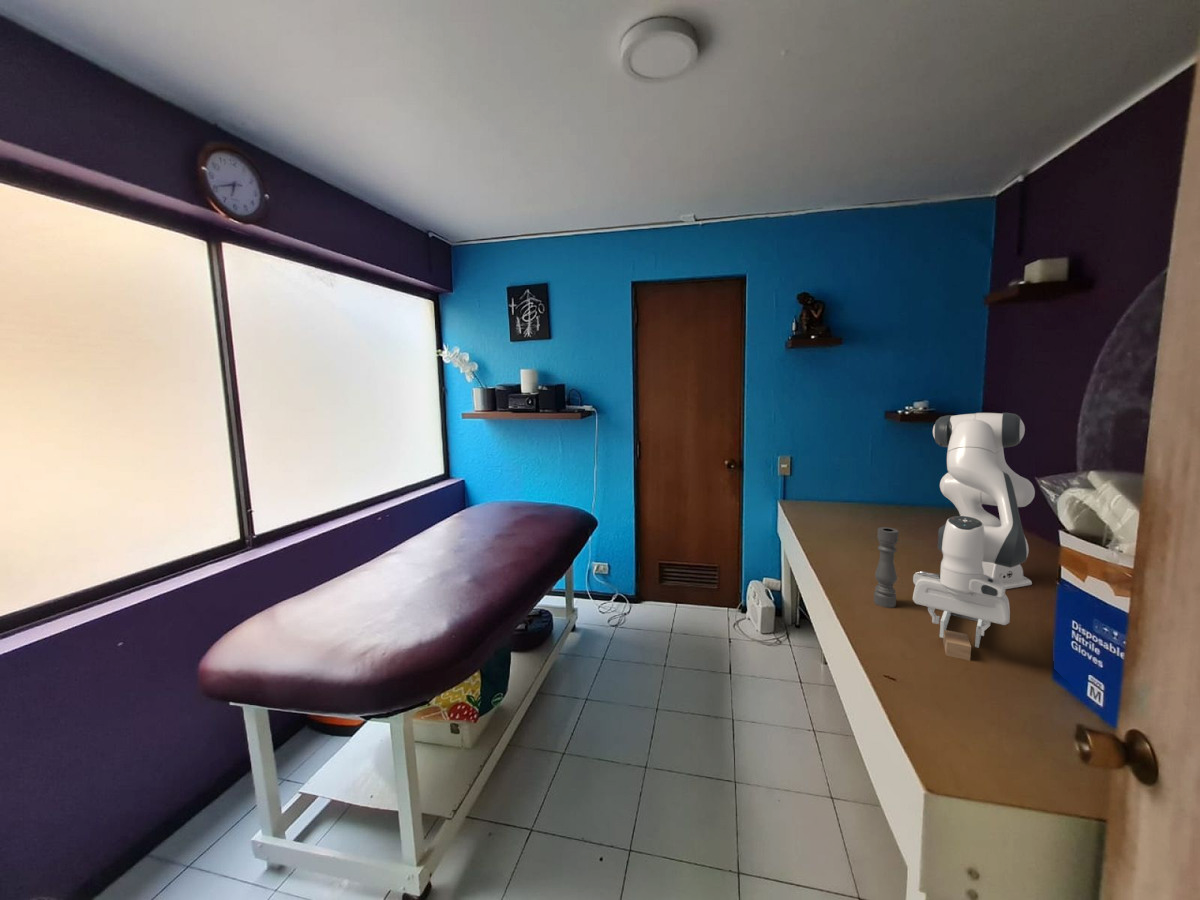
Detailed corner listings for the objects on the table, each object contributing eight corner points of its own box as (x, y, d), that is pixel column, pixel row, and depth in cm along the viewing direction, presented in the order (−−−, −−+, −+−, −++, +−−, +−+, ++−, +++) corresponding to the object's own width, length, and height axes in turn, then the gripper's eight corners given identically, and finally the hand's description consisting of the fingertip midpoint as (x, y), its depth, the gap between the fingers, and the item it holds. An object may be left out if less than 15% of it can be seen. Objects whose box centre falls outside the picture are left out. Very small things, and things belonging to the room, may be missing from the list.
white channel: (948, 610, 144) (949, 595, 144) (983, 619, 139) (985, 603, 138) (939, 637, 130) (940, 620, 129) (978, 647, 124) (980, 630, 123)
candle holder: (888, 609, 147) (892, 534, 143) (869, 601, 152) (872, 529, 149) (899, 604, 149) (903, 530, 146) (880, 597, 155) (884, 525, 152)
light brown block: (943, 643, 127) (944, 629, 127) (965, 647, 125) (966, 634, 124) (946, 656, 121) (947, 641, 121) (970, 661, 119) (971, 646, 118)
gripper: (911, 572, 125) (908, 620, 127) (1011, 593, 111) (1007, 646, 113) (915, 566, 130) (913, 612, 131) (1012, 585, 116) (1008, 636, 117)
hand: (957, 628), depth 122 cm, fingers open, 8 cm apart
